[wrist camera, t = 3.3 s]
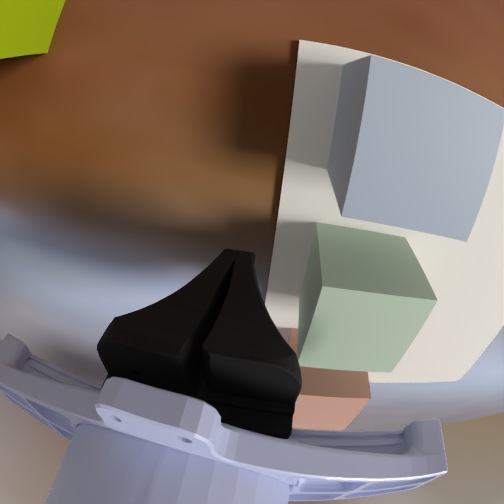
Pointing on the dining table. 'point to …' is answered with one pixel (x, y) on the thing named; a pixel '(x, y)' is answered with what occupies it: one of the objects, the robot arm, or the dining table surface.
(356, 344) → the sage block
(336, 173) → the slate block
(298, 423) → the terracotta block
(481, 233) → the mat
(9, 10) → the puzzle toy
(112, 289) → the dining table surface
